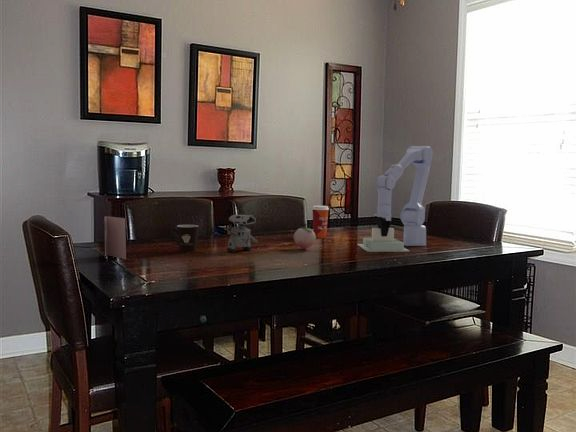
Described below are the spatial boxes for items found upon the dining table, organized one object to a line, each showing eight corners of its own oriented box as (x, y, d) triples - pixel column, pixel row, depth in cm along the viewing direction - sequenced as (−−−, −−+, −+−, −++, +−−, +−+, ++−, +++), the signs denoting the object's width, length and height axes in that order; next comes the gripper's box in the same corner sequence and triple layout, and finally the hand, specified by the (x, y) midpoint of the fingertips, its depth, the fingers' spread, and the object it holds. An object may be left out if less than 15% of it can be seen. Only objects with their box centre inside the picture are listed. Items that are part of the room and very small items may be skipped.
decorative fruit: (319, 249, 228) (320, 225, 227) (306, 252, 222) (307, 227, 221) (302, 246, 235) (303, 223, 234) (289, 249, 229) (290, 225, 228)
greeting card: (102, 256, 205) (102, 216, 203) (123, 255, 208) (122, 215, 206) (104, 261, 194) (103, 219, 193) (126, 260, 197) (125, 218, 195)
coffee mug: (202, 250, 222) (203, 225, 221) (190, 253, 214) (190, 227, 213) (179, 247, 227) (179, 223, 226) (166, 250, 219) (166, 225, 218)
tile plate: (391, 246, 237) (392, 227, 236) (393, 247, 234) (394, 228, 233) (371, 246, 236) (372, 227, 235) (372, 247, 233) (373, 228, 232)
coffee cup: (322, 239, 258) (322, 207, 257) (307, 237, 263) (308, 206, 262) (331, 237, 265) (332, 206, 264) (317, 235, 270) (318, 205, 268)
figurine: (241, 255, 212) (242, 216, 211) (224, 250, 221) (225, 213, 219) (260, 252, 218) (260, 215, 217) (243, 248, 227) (243, 212, 225)
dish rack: (397, 245, 244) (397, 237, 244) (409, 251, 228) (410, 243, 227) (357, 245, 242) (357, 237, 242) (367, 251, 226) (367, 243, 225)
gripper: (370, 202, 240) (369, 233, 241) (379, 205, 225) (378, 238, 227) (386, 202, 240) (385, 233, 242) (396, 205, 226) (395, 238, 228)
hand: (383, 235), depth 234 cm, fingers closed on tile plate, 2 cm apart
